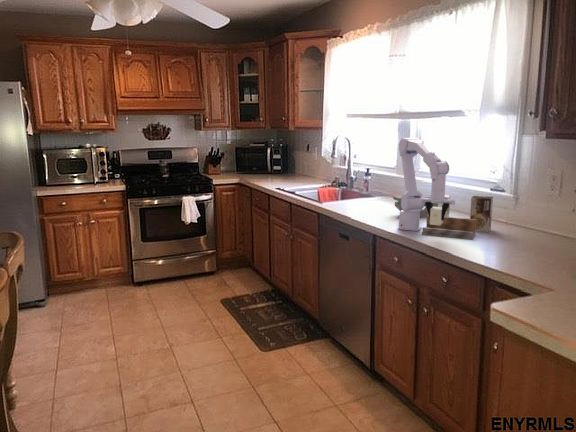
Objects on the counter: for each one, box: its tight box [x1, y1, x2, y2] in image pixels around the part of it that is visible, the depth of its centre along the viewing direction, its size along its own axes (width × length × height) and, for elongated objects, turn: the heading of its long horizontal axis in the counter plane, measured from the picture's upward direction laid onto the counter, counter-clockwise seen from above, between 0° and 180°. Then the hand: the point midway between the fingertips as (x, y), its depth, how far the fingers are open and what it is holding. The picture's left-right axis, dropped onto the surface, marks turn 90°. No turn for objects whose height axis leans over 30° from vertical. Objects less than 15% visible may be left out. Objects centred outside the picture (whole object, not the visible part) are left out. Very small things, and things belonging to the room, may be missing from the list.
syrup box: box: [436, 194, 452, 217], centre depth 240 cm, size 6×6×14 cm
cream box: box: [430, 207, 443, 225], centre depth 209 cm, size 5×7×7 cm
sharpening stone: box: [392, 194, 436, 218], centre depth 260 cm, size 25×8×11 cm, turn 98°
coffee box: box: [469, 195, 494, 233], centre depth 225 cm, size 9×6×16 cm
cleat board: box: [421, 215, 477, 241], centre depth 218 cm, size 22×12×7 cm, turn 62°
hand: (436, 219), depth 210 cm, fingers closed on cream box, 5 cm apart
